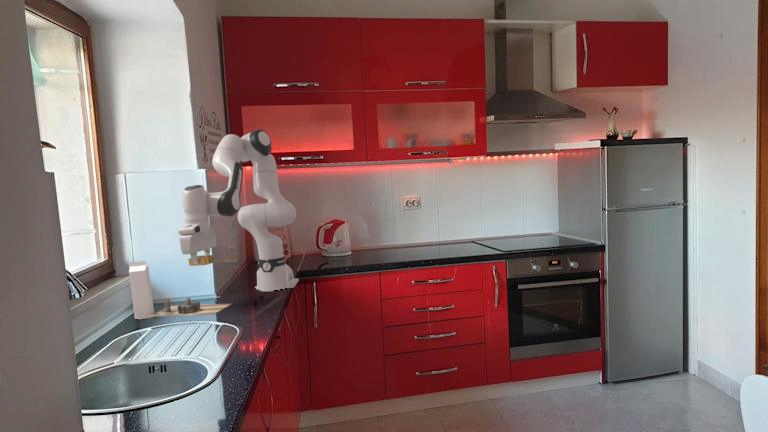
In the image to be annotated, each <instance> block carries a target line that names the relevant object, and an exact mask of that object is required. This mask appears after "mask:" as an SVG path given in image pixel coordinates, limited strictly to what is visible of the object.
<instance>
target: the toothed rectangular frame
mask: <svg viewBox="0 0 768 432" xmlns="http://www.w3.org/2000/svg"><path fill="white" fill-rule="evenodd" d="M197 258H198V259H199V262H200V263H199V264H193V259H192V258H191V257H189V258H188V265H189V266H190V267H194V266H197V267H198V266H207V265H210V264H211V265H212V263H213V264H214V263H215V255H213V254H210V255H204V254H203V255H197Z"/></svg>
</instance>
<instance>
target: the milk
mask: <svg viewBox="0 0 768 432" xmlns="http://www.w3.org/2000/svg"><path fill="white" fill-rule="evenodd" d="M128 277H129V284H130V291H131V302H132V306H133V307H132V308H133V315H134V320H135V319H138V320H143V319H149V318H148V316H150V315H152V314H154V313H155V310H154V302H153V295H152V294H153V293H152V292H153V291H152V284H151V279H150V269H149V266H148V264H147V261H146V260H140V261H131V262H129V269H128Z"/></svg>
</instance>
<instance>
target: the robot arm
mask: <svg viewBox="0 0 768 432" xmlns="http://www.w3.org/2000/svg"><path fill="white" fill-rule="evenodd" d="M271 152H272V138H271V136H270V135H269V133H268V132H267V131H266V130H264V129H262V128H261V129H255V130H252V131H251V132H249V133H246V134H244V135H242V136H241V137H240V136H239V135H237V134H234V133H233V134H232V133H230V134H226V135H225V136H223V137H222V139H221V140H220V142H219V144H218V145H217V147H216V149H215V151H214V153H213V156H212V161H211V164H212V167H213V168H214V170H215V171H216V172H217V173H219V174H220V175H222V176H224V177H226V178H228V183H227V187H226V189H225V190H223V191H219V192H209V191H207V190H206V189H205V187H204V185H202V184H194V185H191V186H186V187H185V188H184V189H183V192H182V206H183V207H182V209H183V211H184V212H183V213H184V215H185V216H184V217H185V218H184V224H183V225H182V226H180V228H179V229H178V230H177V231H178V232H177V233H178V235H180V236H179V244H180V250H181V253H182V254H183V255H190V258H192V259H193V264H199V263H200V262H199V259H198V258H197V256H198V253H199V252H201V251H203V252H204V254H203V255H211V249H212V248H215V247H216V246H217V243H218V242H217V236H216V233H215V230H214V229H213V227H212V226H211V224H210V218H209V217H233V216H235V215H236V214H237V221H238V223H239V225H240V227H242V228H243V229H245V230H246V231H248V232H249V233H250V234H251V235H252V237H253V238H254V240H255V243H256V248H257V252H258V260H257V263H258V264H257V265H258V267H259V268H258V269H257V271H256V284H257V285H256V286H254V289H255V288H256V289H255V290H257V291H259V290H260V291H259V292H275V291H274V290H278V291H281V290H280V289H283V290H286V289H285V288H287V289H293V288H295V287H296V285H297V284H298V283H299V281H300V280H299V279H300V278H295V277H294V272H293V271H294V270H293V269H292V268H291V267H290V266H289V265H288V264H287V260H288V256H287V255H284V246H283V240H282V239H281V237H280V236H277V235H276V234H273V233H271V232H269V231H268V228H274V227H276V228H277V227H284V226H287V225H290V224H291V225H292V224H293V223H294V222H295V220H296V217H297V209H296V208H295V206H294V205H293V204H292V203H291V202H289V201H288V200H287V199H286V198H285V197H283V195H282V193H281V191H280V188H279V179H278V168H277V167H278V166H277V162H276V159H275V157H274V156H273V155H272V154H271ZM249 161H251V163H252V166H253V168H252V178H253V179H252V183H253V184H252V185H253V192H254V193H255V195H256V196H258V197H260V198H262V199H265V200H266V201H267V202H266V203H263V202H262V203H254V204H253V203H252V204H248V205H245V206H241V191H242V185H243V178H244V168H243V165H242V164H245V163H248V162H249Z"/></svg>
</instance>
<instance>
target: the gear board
mask: <svg viewBox="0 0 768 432" xmlns="http://www.w3.org/2000/svg"><path fill="white" fill-rule="evenodd" d="M191 300H192V299H191V298H190V297H187V298H185V302H184V303H180V304H179V303H178V305H177V304H175V305H174V304H173V305H171V301H170V298H165V299H164V306H165V308H163V309H161V310H159V311H157V312H154V314H152V315H150V316H148V318H147V319H151V318H154V317H172V316H173V317H176V316H177V317H178V316H181V317H182V316H213V315H215V314H217V313H218V312H221V311H222V310H224V309H225V308H227V307H229V306H231V305H232V303H208V304H207V303H206V304H205V303H204V304H201V303H200V301H197V302H196V301H195V300H194V301H191Z"/></svg>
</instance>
